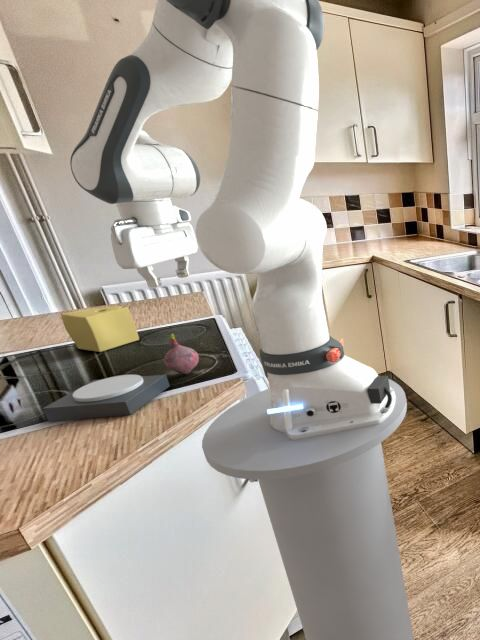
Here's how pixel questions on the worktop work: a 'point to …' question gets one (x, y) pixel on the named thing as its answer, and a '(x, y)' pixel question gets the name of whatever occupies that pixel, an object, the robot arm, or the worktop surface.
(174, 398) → the worktop surface
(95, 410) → the scale
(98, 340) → the cheese
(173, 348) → the vegetable
